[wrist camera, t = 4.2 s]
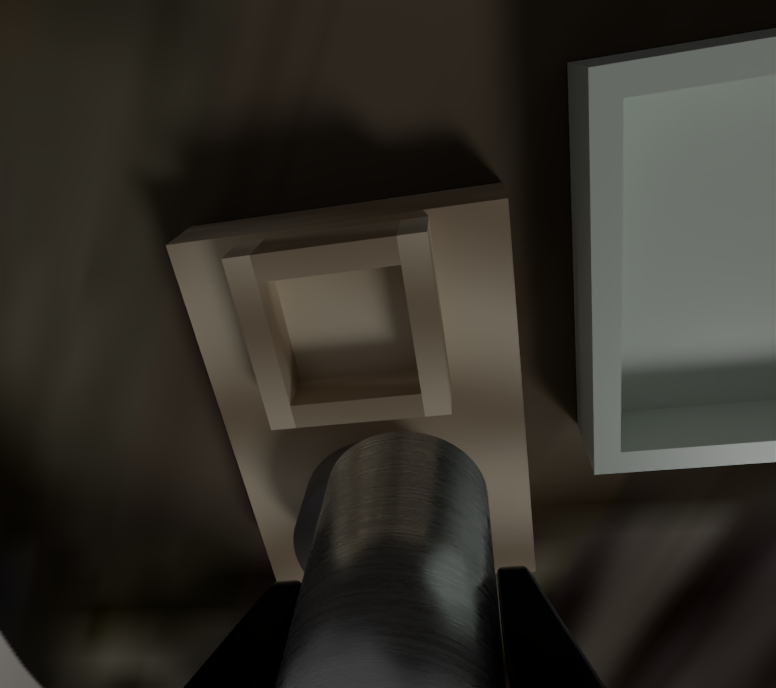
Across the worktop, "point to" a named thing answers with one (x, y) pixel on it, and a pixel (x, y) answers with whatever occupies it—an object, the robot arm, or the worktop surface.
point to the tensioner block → (362, 349)
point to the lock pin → (399, 574)
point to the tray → (675, 253)
